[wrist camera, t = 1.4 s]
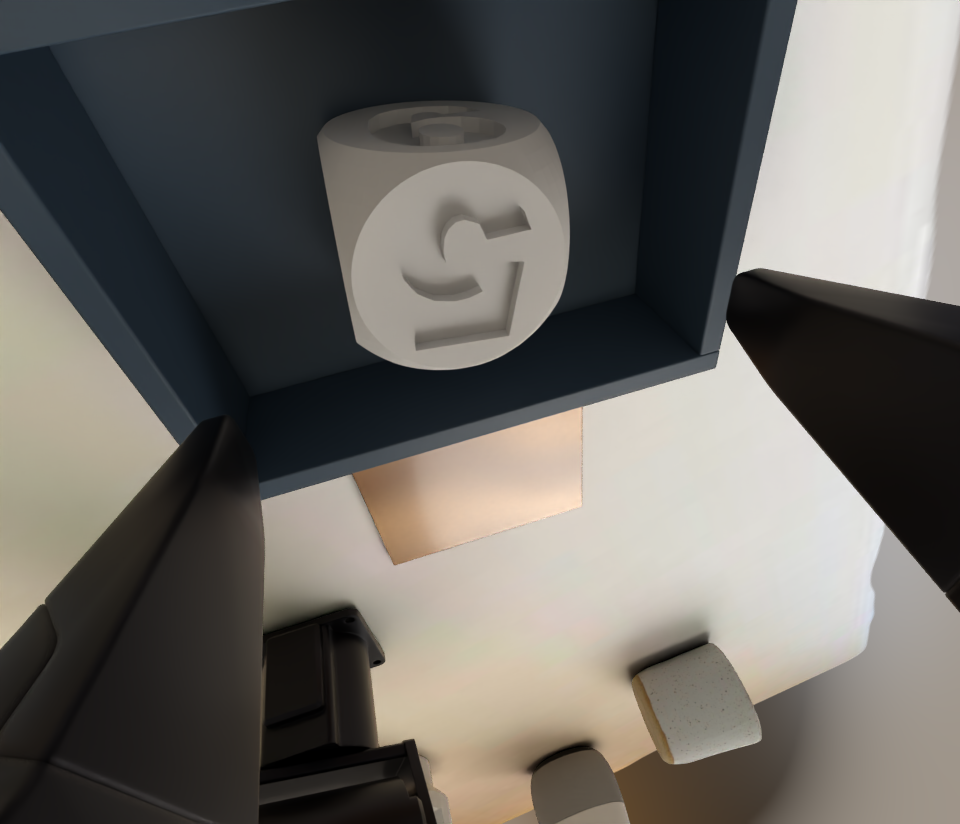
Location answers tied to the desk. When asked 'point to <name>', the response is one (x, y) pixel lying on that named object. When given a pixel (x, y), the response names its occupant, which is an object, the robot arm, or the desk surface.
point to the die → (446, 228)
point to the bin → (306, 214)
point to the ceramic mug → (695, 706)
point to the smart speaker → (577, 790)
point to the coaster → (476, 486)
